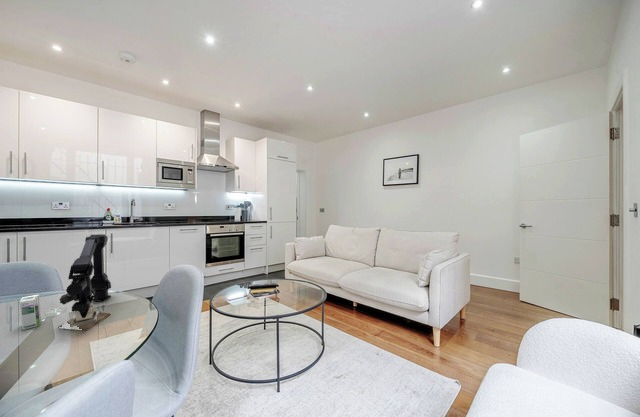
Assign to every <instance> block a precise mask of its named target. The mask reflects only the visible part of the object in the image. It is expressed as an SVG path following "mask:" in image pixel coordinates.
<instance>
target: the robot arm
mask: <svg viewBox="0 0 640 417" xmlns="http://www.w3.org/2000/svg"><path fill="white" fill-rule="evenodd" d="M108 237H109V236H107V235H106V234H103V233H102V234H101V233H100V234H99V233H98V234H90V235H89V236H86V237H85V242H84V245H83V248H82V250H81V253H80V255H79V257H78V258H76V259H75V260H74V262H73V263H72V265H71V266H70V269H69V274H68V279H67V280H71V282H70V284H69V285H68V286H67V287H66V289H65V292H66V293H65V294H63V295H61V297H60V298H59V304H62V305H64V306H65V305H67V304H68V303H70V302H73V301H74V303H73V304H72V306H71V312H75V311H79V312H80V314H81V316H82V318H85V317H86V315H87V312H88V310H89V308H90V305H91V304H92V302H104V301H105V300H107V299H109V298H110V297H111V295H110V294H109V290H110V289H111V288H112V283H111V281H110V280H109V276H108V275H107V274H106V273H105V264H104V262H105V261H104V257H105V256H104V248H105V247H106V245H107V244H108V243H107V242H108V240H109V239H108ZM92 260H93V261H92ZM91 275H92V276H91Z"/></svg>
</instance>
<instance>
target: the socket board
mask: <svg viewBox="0 0 640 417" xmlns="http://www.w3.org/2000/svg"><path fill="white" fill-rule="evenodd" d="M110 316H111V313H109V312H101V311H100V310H99V309H98V310H94V313H93V316H92V318H89V319H84V320H79V321H76V316H75V314H74V315H73V317H72V318H70V319H69V320H67V321H66V322H67V323H68V324H70V327H73V326H77V327H79V329H82V330H84V331H83V332H87V331H88V330H90V329H91V328H93V327H95V326H96V325H97V324H99V323H100V322H102V321H104V320H106V318H108V317H110ZM59 327H62V324H60V325H59V326H57V329H58V328H59Z"/></svg>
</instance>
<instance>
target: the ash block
mask: <svg viewBox="0 0 640 417" xmlns="http://www.w3.org/2000/svg"><path fill="white" fill-rule="evenodd" d="M94 307H95V306H94V303H91V305H90V308H89V310H88V312H87V315H86V317H85V318H82V316H81V314H80V312H79V311H74V312H75V313H74V315H75V316H76V321H79V320H84V319H89V318H92V316H93V313H94V311H95V310H94Z"/></svg>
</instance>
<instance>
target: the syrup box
mask: <svg viewBox="0 0 640 417" xmlns="http://www.w3.org/2000/svg"><path fill="white" fill-rule="evenodd" d="M39 294H40V293H39ZM39 294H34V295H29V296H23V297H21V298H20V301H19V309H20V316H21V325H22V330H24V331H25V330H27V329H28V330H29V329H31V328H36V327H40V325H41V323H42V315H41V306H40V305H41V304H40V295H39Z"/></svg>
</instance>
